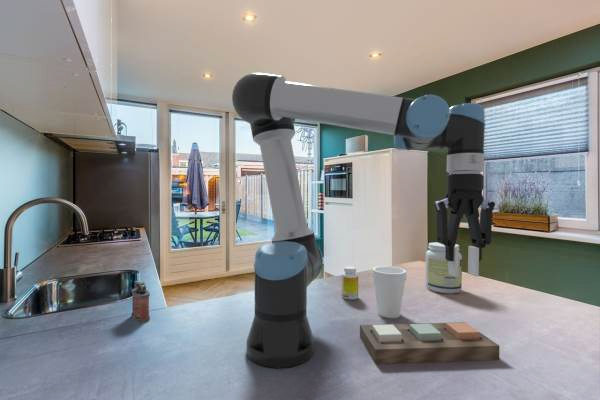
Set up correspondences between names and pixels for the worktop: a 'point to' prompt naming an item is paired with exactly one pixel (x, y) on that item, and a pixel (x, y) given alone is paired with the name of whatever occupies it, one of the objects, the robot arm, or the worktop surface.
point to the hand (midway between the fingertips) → (463, 274)
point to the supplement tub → (441, 270)
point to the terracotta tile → (462, 331)
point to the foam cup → (389, 290)
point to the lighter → (140, 303)
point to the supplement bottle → (349, 283)
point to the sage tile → (424, 332)
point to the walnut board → (427, 347)
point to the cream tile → (386, 333)
